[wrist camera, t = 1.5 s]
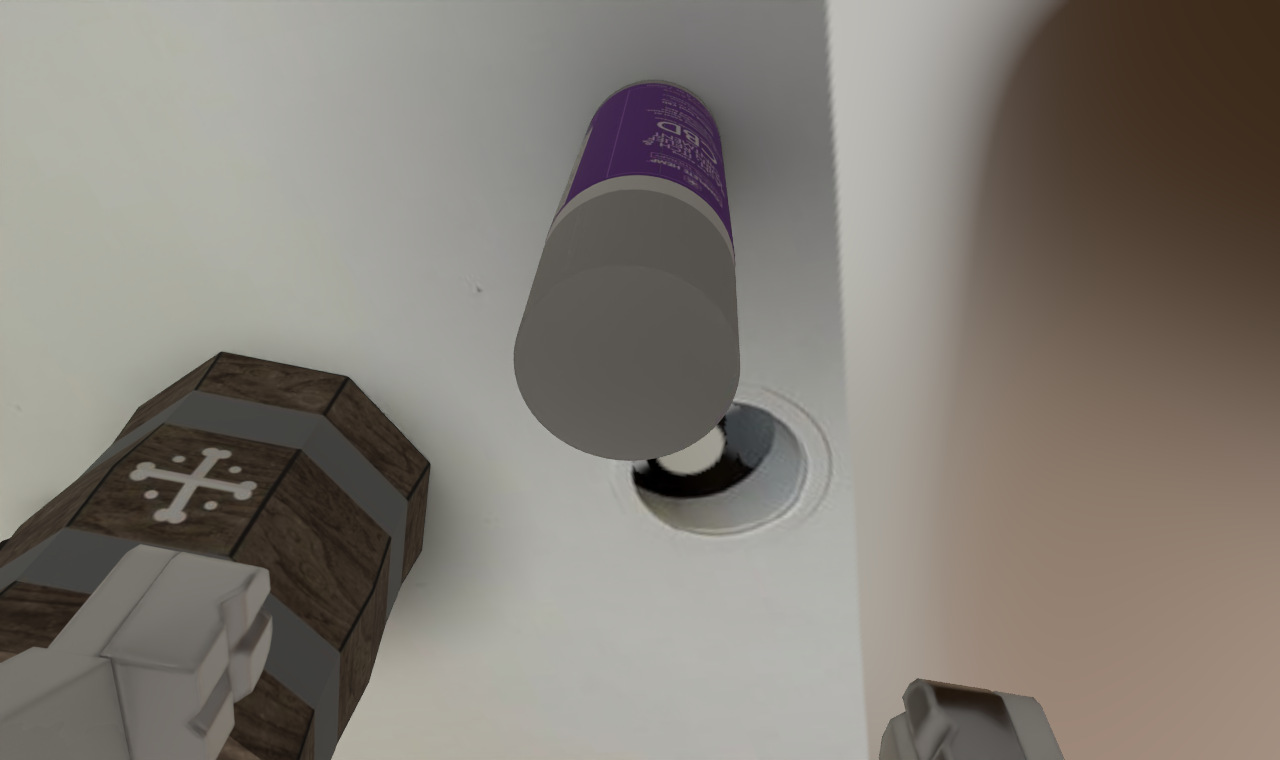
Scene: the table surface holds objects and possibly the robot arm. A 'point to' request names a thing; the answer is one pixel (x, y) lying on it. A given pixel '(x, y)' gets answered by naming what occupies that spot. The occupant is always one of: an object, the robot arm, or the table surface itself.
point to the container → (636, 285)
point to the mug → (245, 532)
